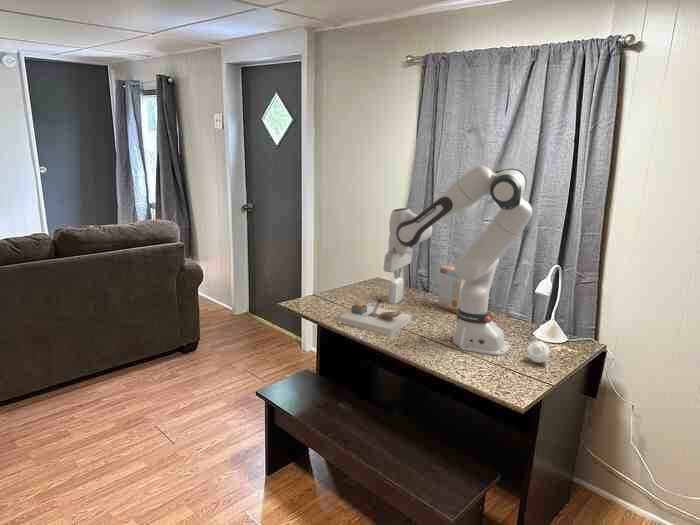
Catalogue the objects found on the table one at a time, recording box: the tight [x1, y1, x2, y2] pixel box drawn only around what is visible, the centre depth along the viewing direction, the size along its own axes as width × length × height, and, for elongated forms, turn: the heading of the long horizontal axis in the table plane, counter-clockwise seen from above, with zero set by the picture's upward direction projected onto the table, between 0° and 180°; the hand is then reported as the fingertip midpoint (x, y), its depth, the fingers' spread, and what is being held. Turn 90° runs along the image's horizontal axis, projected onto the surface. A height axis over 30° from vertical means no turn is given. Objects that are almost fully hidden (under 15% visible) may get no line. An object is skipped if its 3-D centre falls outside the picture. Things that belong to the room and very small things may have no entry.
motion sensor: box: [526, 340, 551, 364], centre depth 181 cm, size 8×8×8 cm
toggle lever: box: [372, 298, 383, 314], centre depth 215 cm, size 2×2×8 cm
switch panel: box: [338, 303, 412, 337], centre depth 216 cm, size 26×20×6 cm
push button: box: [355, 301, 364, 308], centre depth 220 cm, size 3×3×2 cm
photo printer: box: [388, 277, 404, 305], centre depth 244 cm, size 10×4×12 cm, turn 149°
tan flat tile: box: [378, 311, 402, 318], centre depth 212 cm, size 9×5×1 cm, turn 58°
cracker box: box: [437, 264, 465, 315], centre depth 233 cm, size 14×6×21 cm, turn 34°
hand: (397, 277), depth 206 cm, fingers closed
